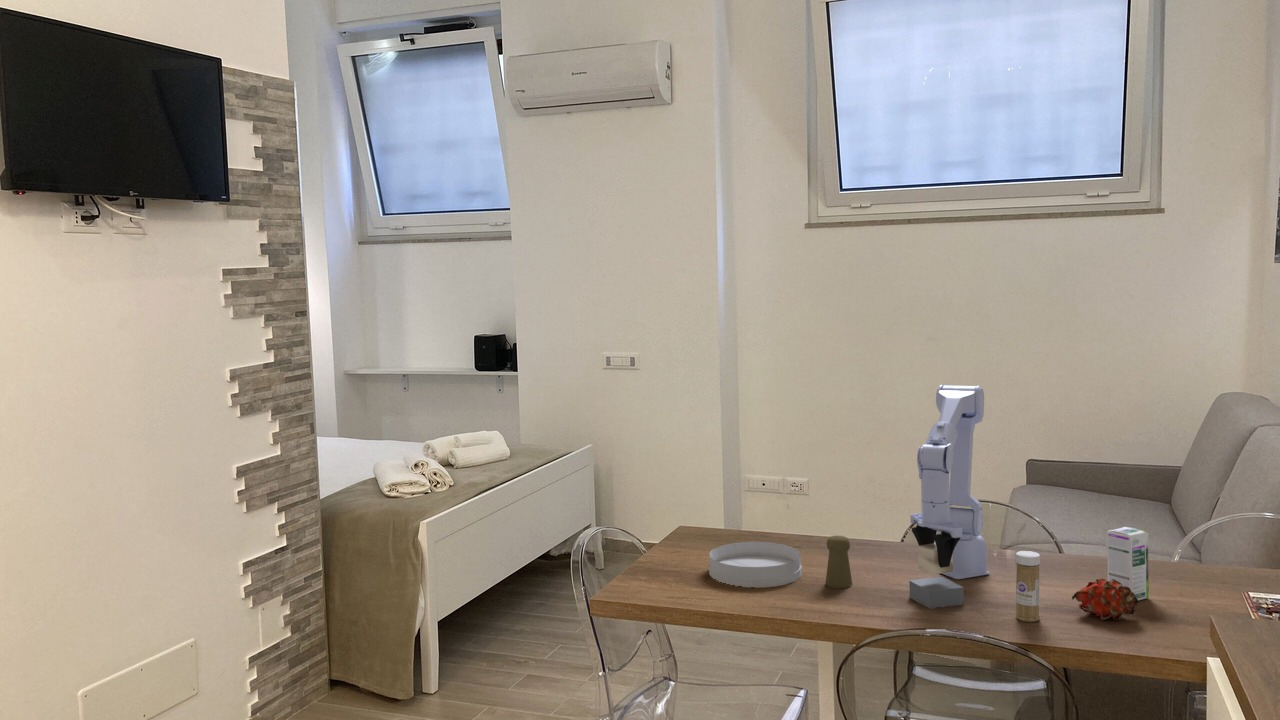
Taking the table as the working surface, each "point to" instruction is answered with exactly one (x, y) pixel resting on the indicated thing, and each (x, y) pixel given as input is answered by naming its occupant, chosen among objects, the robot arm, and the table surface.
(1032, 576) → the sprinkles bottle
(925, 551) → the beech cube
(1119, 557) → the syrup box
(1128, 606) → the dragon fruit
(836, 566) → the cork
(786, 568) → the dish
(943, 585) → the grey block
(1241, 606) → the table surface
